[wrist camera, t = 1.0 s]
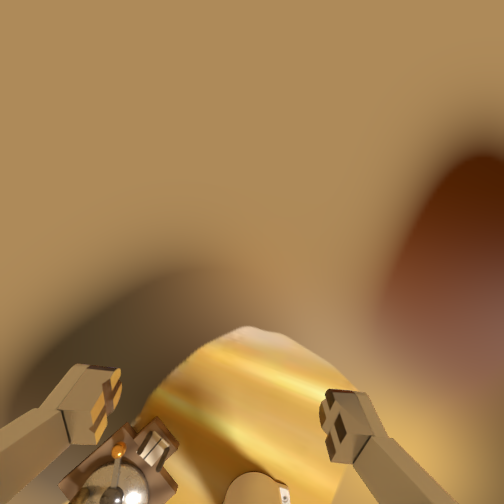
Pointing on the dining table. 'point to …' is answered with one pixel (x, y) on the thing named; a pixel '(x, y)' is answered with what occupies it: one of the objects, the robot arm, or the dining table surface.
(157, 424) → the stand
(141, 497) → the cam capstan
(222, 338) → the dining table surface
